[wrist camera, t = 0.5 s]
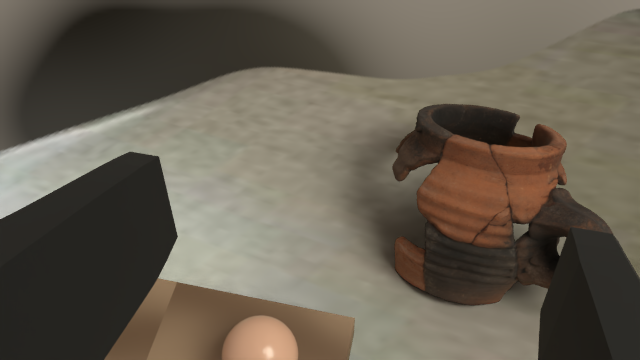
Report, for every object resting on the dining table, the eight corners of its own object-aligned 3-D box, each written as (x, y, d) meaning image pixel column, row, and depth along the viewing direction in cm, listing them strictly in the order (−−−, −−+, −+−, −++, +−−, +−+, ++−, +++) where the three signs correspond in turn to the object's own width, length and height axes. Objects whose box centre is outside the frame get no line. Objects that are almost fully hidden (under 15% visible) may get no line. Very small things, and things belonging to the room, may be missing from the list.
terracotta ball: (290, 411, 24) (284, 391, 21) (218, 394, 24) (203, 372, 22) (307, 338, 26) (304, 311, 23) (240, 324, 26) (229, 296, 23)
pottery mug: (340, 254, 31) (362, 111, 27) (436, 208, 37) (463, 87, 34) (550, 383, 24) (616, 212, 20) (623, 298, 30) (683, 157, 27)
